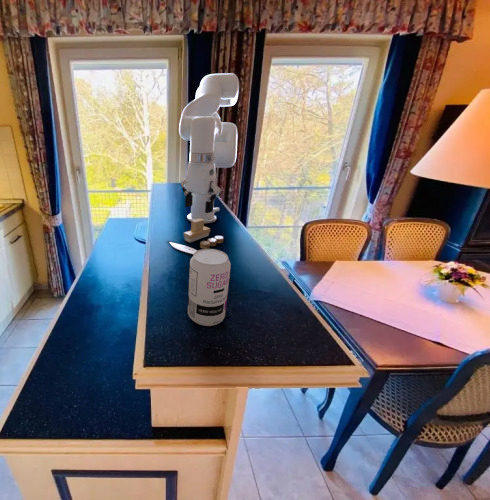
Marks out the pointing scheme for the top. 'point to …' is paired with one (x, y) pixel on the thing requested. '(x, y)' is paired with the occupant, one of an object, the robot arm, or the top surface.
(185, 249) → the knife
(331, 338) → the top surface
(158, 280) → the top surface
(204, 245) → the crumb
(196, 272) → the supplement can
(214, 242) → the crumb middle
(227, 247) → the top surface
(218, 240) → the crumb
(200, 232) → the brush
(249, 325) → the top surface
